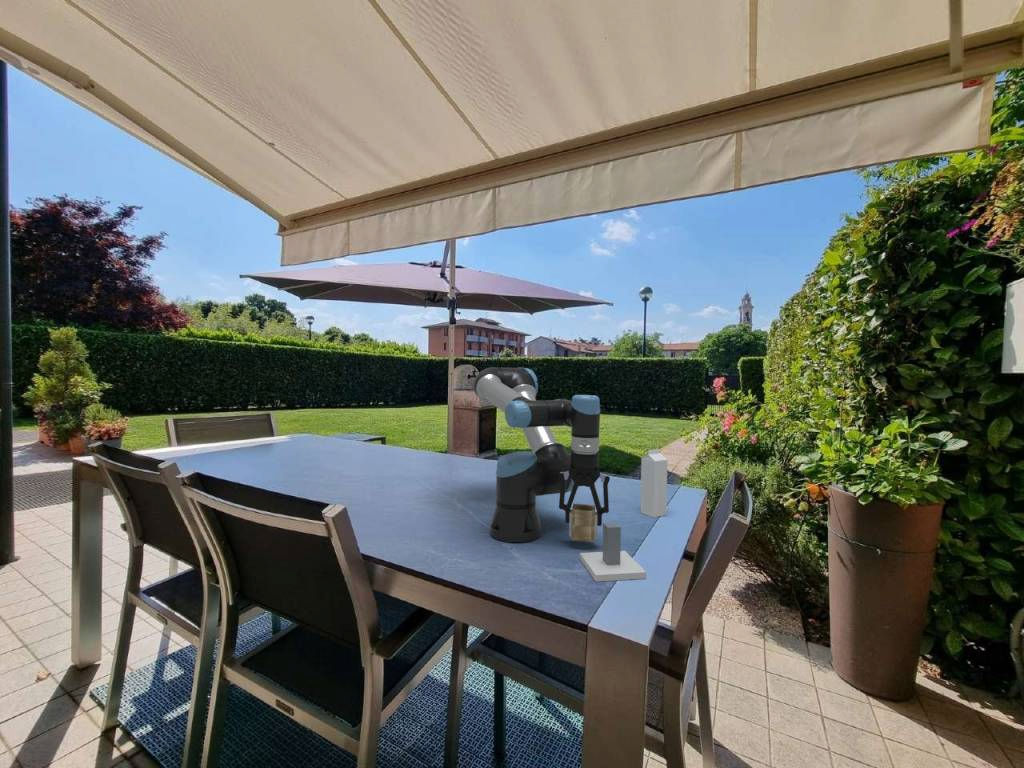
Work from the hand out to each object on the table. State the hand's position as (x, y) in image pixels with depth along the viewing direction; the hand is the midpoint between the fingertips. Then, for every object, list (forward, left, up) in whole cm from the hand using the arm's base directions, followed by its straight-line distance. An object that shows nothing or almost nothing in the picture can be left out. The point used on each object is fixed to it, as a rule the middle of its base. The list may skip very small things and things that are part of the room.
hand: (583, 535), depth 115 cm
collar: (0, 0, 0) cm, 0 cm away
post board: (+7, -12, -3) cm, 15 cm away
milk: (+22, +33, -3) cm, 40 cm away
